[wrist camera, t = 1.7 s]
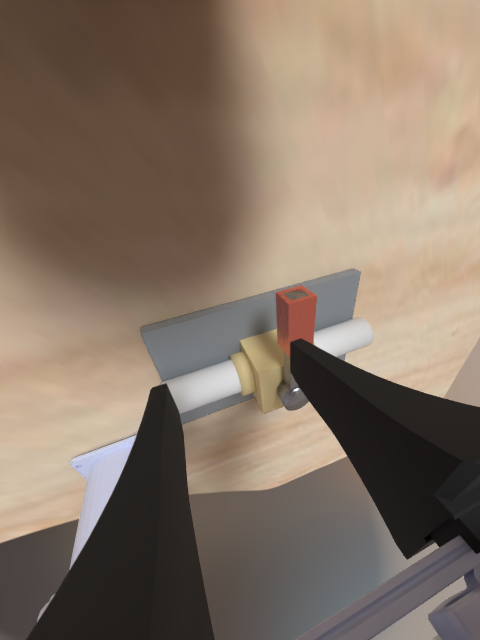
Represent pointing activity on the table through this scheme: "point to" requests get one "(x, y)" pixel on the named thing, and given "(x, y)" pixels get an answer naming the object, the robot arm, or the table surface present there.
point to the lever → (294, 336)
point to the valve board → (235, 325)
